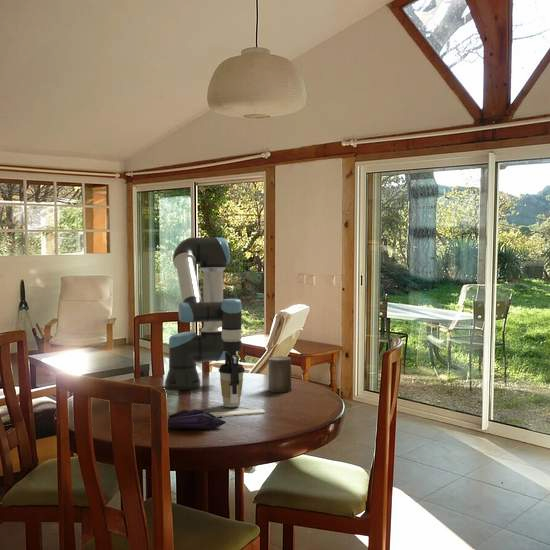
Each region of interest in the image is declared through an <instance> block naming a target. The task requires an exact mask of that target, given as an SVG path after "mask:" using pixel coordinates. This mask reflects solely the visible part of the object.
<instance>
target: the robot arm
mask: <svg viewBox="0 0 550 550" xmlns="http://www.w3.org/2000/svg"><path fill="white" fill-rule="evenodd" d="M172 255H173V256H172V263H173V266H174V268H175V269H176V272H177V273H176V274H177V278H178V283H179V291H180V296H181V302H180V303H179V304H178V310H177V311H178V319H179V321H180V322H181V323H203V327H202V328H201V329H200V334H197V333H196V332H195V331H184V332H178V333H174V334H172V335H171V336H170V337H169V339H168V347H167V348H168V372H167V375H166V377H165V381H164V388H166V389H167V390H172V391H189V390H195V389H198V388H200V387H201V379H200V376H199V373H198V370H197V363H200V362H220V361H224V364H226V365H228V367H230V368H231V370H232V374H231V384H229V386H230V403H236V402H238V385H239V369H238V364H239V360H240V359H239V357H238V355H237V352H240V351H242V348H243V347H242V346H243V345H242V340H241V339H242V334H243V333H244V331H243V330H242V320H243V319H242V311H243V307H242V300H241V299H240V298H225V299H224V272H225V270H226V269H227V265H229V264H230V263H231V253H230V245H229V244H228V241H227V240H226V239H225V237H224V238H223V237H217V236H214V237H193V236H191V237H188V238H186V239H184V240H182V241H181V242H180V243H179V244H178V245H177V246H176V248H175V249H174V251H173V254H172ZM196 265H199V270H200V271H201V272H202V273H203V274H202V277H203V278H202V279H203V280H202V281H203V285H202V287H203V299H202V296H201V290H200V285H199V280H198V276H197V271H196ZM202 300H203V301H202ZM234 381H236V382H234Z"/></svg>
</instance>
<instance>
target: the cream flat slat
mask: <svg viewBox="0 0 550 550" xmlns="http://www.w3.org/2000/svg"><path fill="white" fill-rule="evenodd" d="M210 413H211V414H212V415H214V416H216V418H217V417H220V416H223V417H234V415H237V416H247V415H248V414H249V415H250V414H251V415H259V414H260V415H264V414H263V413H265V414H266V411H265V410H264V409H263V408H260V409H246V410H245V409H244V410H231V411H217V412H210Z"/></svg>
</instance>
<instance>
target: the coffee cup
mask: <svg viewBox="0 0 550 550" xmlns="http://www.w3.org/2000/svg"><path fill="white" fill-rule="evenodd" d="M238 369H239V385H238V402H236V403H230V386H229V384H231V374H232V370H231V368H230V367H228V365H226V364H225V363H223V364H221V365H220V367H219V368H218V372H219V381H220V389H221V390H220V391H221V397H222V405H223V406H224V407H226V408H235V407H239V406H241V405H240V404H241V397H242V390H243V382H244V381H243V380H244V372H245V368H244V365H243V364H241V363H238ZM234 382H236V381H234Z"/></svg>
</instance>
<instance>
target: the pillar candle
mask: <svg viewBox="0 0 550 550" xmlns="http://www.w3.org/2000/svg"><path fill="white" fill-rule="evenodd" d="M268 391H270V392H272V393H288V392H287V391H289V392H291V391H292V358H291V357H290V356H285V355H284V356H282V355H278V356H277V355H276V356H271V357H268Z"/></svg>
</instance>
